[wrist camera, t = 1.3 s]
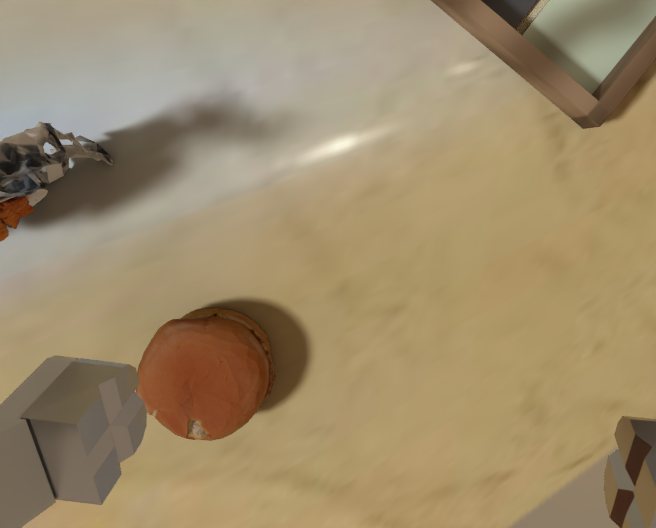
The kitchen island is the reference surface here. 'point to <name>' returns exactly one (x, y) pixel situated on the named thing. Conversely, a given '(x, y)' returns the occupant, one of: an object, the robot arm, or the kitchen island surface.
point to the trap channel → (568, 47)
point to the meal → (35, 169)
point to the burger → (206, 373)
